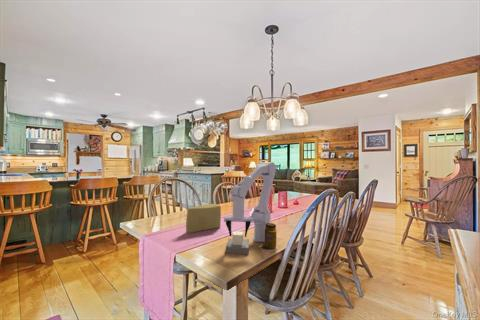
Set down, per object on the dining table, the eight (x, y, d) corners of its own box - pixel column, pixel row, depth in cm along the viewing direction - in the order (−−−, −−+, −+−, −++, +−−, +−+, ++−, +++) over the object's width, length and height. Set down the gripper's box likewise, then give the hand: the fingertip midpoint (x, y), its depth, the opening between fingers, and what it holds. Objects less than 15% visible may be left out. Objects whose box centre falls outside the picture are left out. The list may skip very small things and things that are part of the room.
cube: (243, 241, 114) (243, 231, 114) (242, 245, 109) (242, 235, 109) (233, 240, 115) (233, 231, 115) (232, 244, 110) (232, 234, 110)
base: (248, 244, 117) (248, 239, 117) (248, 254, 106) (248, 247, 106) (228, 244, 118) (228, 238, 118) (225, 253, 107) (225, 247, 107)
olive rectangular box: (190, 235, 130) (190, 210, 130) (182, 230, 137) (183, 206, 137) (221, 228, 144) (221, 205, 144) (213, 224, 152) (213, 202, 151)
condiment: (279, 247, 115) (279, 224, 115) (270, 252, 109) (271, 228, 108) (267, 243, 120) (268, 221, 120) (258, 248, 113) (258, 225, 113)
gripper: (223, 210, 108) (222, 238, 108) (252, 211, 107) (252, 239, 108) (224, 207, 115) (224, 233, 115) (252, 208, 114) (252, 234, 115)
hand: (238, 235), depth 112 cm, fingers open, 7 cm apart
